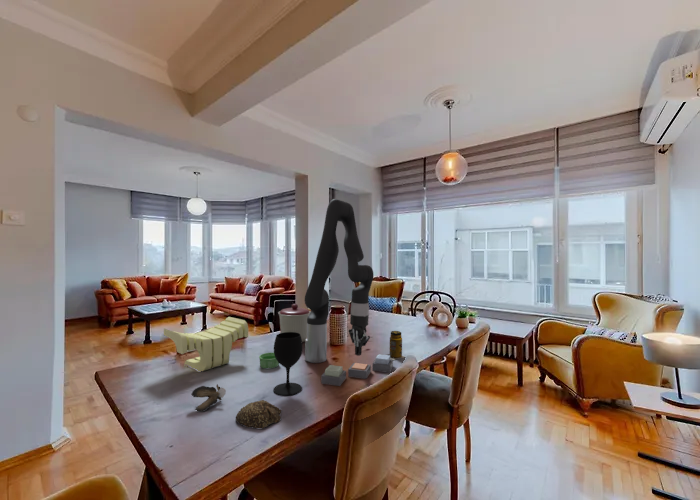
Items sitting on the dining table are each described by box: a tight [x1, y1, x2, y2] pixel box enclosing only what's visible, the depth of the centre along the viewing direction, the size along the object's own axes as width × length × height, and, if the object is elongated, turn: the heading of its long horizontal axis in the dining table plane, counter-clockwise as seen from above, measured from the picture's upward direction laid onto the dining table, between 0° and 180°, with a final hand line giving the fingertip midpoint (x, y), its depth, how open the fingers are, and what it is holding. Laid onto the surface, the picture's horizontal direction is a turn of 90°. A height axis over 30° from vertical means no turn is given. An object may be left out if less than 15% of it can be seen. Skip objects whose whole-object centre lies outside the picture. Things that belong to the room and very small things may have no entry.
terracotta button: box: [352, 362, 369, 370], centre depth 129 cm, size 5×5×3 cm
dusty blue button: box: [375, 354, 390, 365], centre depth 136 cm, size 5×5×3 cm
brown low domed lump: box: [235, 399, 282, 429], centre depth 95 cm, size 13×12×5 cm
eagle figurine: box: [191, 384, 227, 412], centre depth 102 cm, size 8×7×9 cm
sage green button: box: [324, 364, 344, 377], centre depth 122 cm, size 5×5×3 cm
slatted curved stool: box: [163, 316, 249, 373], centre depth 137 cm, size 30×16×18 cm, turn 144°
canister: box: [277, 303, 311, 343], centre depth 174 cm, size 18×18×21 cm
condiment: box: [386, 330, 405, 361], centre depth 151 cm, size 7×8×12 cm
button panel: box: [320, 358, 394, 387], centre depth 129 cm, size 11×36×3 cm, turn 123°
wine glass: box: [272, 332, 304, 397], centre depth 114 cm, size 10×10×20 cm
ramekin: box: [258, 352, 280, 369], centre depth 137 cm, size 9×9×4 cm
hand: (358, 354), depth 128 cm, fingers closed
